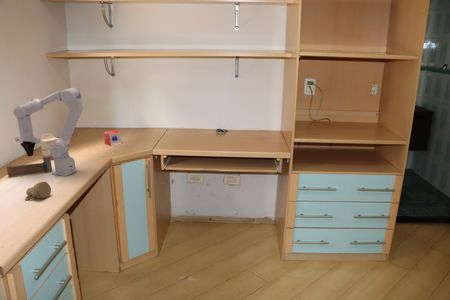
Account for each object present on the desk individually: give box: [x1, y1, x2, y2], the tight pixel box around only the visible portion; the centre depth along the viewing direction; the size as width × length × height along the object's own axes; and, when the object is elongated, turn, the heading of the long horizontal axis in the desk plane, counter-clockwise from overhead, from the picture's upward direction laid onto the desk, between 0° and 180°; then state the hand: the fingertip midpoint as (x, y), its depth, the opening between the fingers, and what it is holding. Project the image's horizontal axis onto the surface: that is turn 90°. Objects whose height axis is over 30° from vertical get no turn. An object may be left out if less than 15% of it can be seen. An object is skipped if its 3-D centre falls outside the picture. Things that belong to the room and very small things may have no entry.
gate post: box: [41, 156, 53, 173], centre depth 187 cm, size 3×3×8 cm
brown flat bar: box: [6, 161, 48, 178], centre depth 183 cm, size 1×17×5 cm, turn 113°
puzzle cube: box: [103, 129, 123, 147], centre depth 237 cm, size 8×8×8 cm
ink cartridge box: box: [39, 132, 59, 161], centre depth 206 cm, size 9×5×15 cm, turn 141°
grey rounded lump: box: [24, 181, 52, 201], centre depth 156 cm, size 8×10×10 cm
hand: (30, 155), depth 183 cm, fingers closed
